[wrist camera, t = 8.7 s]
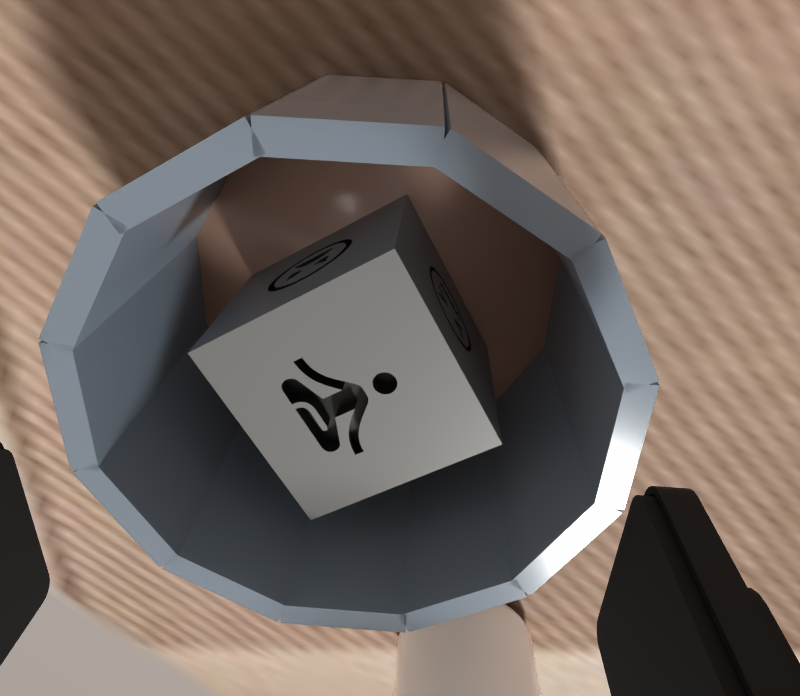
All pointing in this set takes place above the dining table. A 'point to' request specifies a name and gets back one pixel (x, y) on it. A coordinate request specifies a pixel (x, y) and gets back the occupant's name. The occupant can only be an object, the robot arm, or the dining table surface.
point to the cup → (285, 235)
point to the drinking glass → (468, 657)
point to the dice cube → (354, 363)
